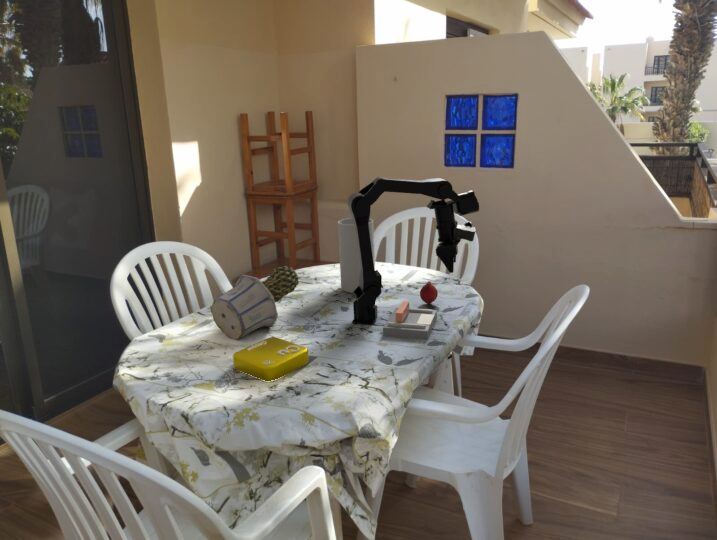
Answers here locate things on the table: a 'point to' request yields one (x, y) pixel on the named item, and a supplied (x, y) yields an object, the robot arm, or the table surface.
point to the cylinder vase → (351, 253)
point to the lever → (402, 311)
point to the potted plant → (252, 302)
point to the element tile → (270, 358)
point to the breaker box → (411, 324)
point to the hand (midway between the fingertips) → (452, 267)
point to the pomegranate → (428, 293)
